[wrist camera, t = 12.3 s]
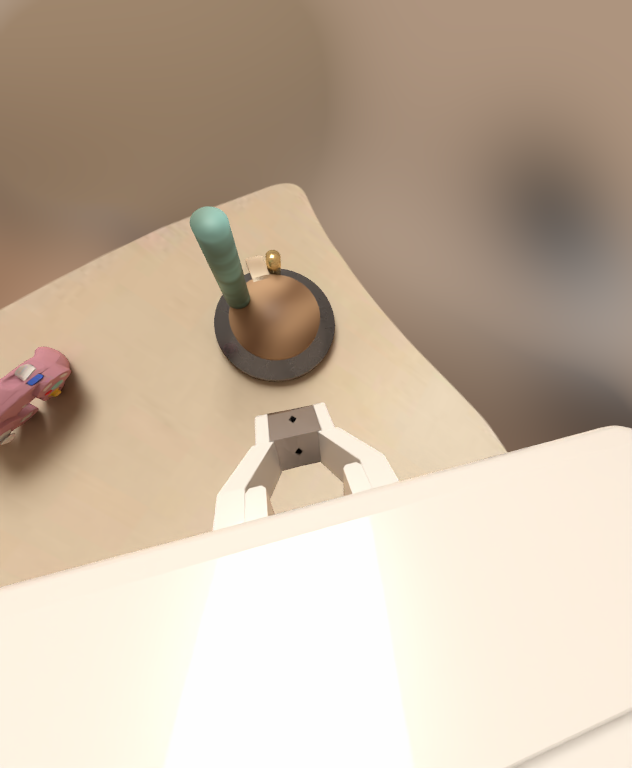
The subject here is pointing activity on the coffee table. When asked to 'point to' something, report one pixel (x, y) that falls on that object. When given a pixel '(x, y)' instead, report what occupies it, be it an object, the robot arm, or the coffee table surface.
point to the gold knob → (273, 262)
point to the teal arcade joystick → (256, 294)
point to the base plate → (277, 368)
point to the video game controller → (30, 388)
